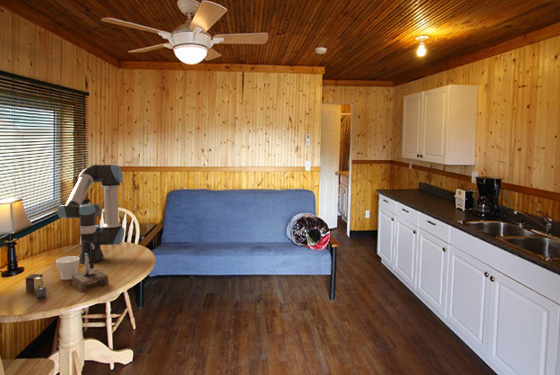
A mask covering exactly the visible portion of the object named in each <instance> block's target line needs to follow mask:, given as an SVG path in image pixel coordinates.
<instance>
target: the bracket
mask: <svg viewBox="0 0 560 375" xmlns="http://www.w3.org/2000/svg"><path fill="white" fill-rule="evenodd" d="M95 282H97V283H98V284H100V285H102V286H103V285H104V286H103V287H108V286H109V275H108V274H106V273H105V272H103V271H101V270H100V269H98V268H95V269H94V276H93V277H89V278H86V272H85V271H84V272H79V273H77V274H75V275H72V279H71V283H72V284H71V286H72V287H74V288H75V289H76V290H78V291H79V292H81V293H86V292H87V284H90V283H95ZM107 285H108V286H107Z"/></svg>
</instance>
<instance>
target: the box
mask: <svg viewBox="0 0 560 375" xmlns="http://www.w3.org/2000/svg"><path fill="white" fill-rule="evenodd" d="M36 277H43V273H31V274H30V275H28V276H26V277H25V288H26V289H25V290H26V292H29V291H30V292H33V291H34V278H36ZM34 292H35V291H34Z"/></svg>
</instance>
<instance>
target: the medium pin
mask: <svg viewBox="0 0 560 375" xmlns="http://www.w3.org/2000/svg"><path fill="white" fill-rule="evenodd" d="M40 287H44V278H43V277H36V278H34V294H35V295H37V288H40Z"/></svg>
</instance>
